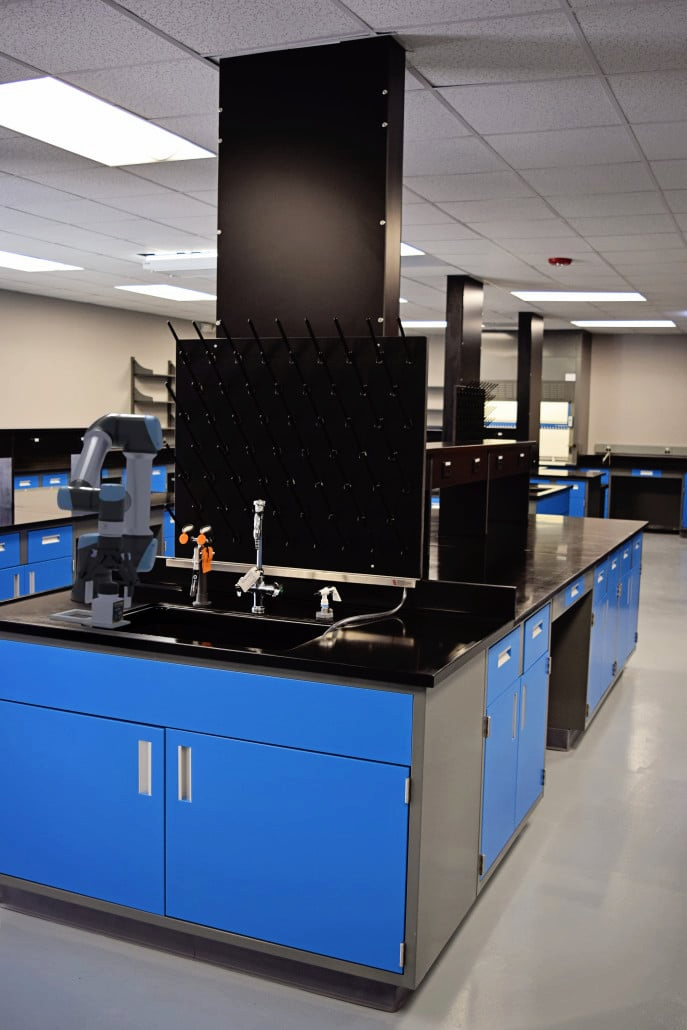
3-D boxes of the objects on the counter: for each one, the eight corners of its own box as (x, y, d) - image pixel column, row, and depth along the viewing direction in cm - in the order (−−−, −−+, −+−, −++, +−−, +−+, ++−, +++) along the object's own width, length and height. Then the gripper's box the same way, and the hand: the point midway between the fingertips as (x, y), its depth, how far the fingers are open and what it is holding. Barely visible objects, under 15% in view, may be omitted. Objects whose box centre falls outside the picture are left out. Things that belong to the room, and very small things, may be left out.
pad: (102, 619, 292) (102, 617, 292) (130, 623, 288) (130, 621, 288) (83, 624, 282) (83, 622, 282) (111, 628, 279) (111, 626, 279)
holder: (75, 612, 300) (75, 609, 300) (110, 617, 296) (110, 613, 296) (49, 618, 288) (49, 614, 288) (86, 623, 284) (86, 619, 283)
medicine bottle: (112, 625, 281) (114, 585, 280) (90, 622, 282) (92, 583, 282) (123, 621, 288) (124, 582, 287) (101, 618, 289) (103, 580, 289)
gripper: (68, 532, 284) (65, 602, 285) (140, 539, 276) (136, 611, 277) (82, 531, 291) (80, 599, 292) (153, 538, 283) (150, 607, 284)
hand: (107, 605), depth 285 cm, fingers open, 13 cm apart
